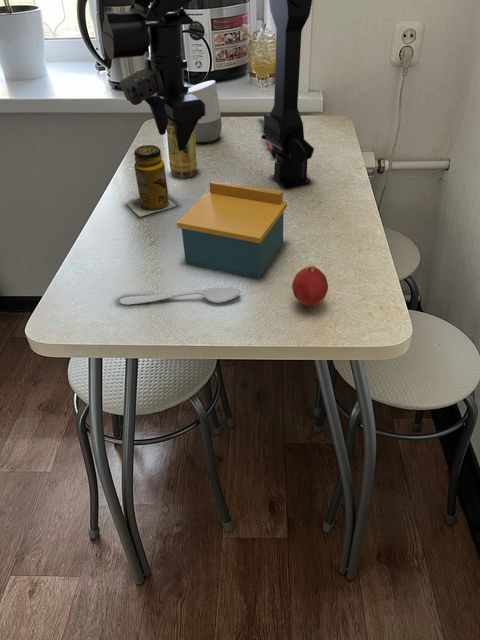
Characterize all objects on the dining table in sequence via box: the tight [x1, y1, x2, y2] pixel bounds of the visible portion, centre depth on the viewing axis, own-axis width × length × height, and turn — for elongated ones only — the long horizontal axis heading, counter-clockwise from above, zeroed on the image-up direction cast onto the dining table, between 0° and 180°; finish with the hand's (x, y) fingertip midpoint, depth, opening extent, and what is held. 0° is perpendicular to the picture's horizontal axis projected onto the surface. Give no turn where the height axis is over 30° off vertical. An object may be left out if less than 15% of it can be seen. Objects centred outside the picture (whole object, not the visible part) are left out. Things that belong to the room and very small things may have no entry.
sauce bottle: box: [166, 81, 198, 179], centre depth 128 cm, size 7×6×20 cm
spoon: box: [118, 286, 242, 306], centre depth 98 cm, size 4×21×2 cm, turn 92°
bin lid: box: [176, 179, 288, 243], centre depth 103 cm, size 14×16×3 cm
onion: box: [291, 264, 329, 307], centre depth 94 cm, size 6×6×8 cm
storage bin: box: [180, 211, 285, 280], centre depth 106 cm, size 13×15×8 cm
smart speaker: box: [187, 79, 223, 144], centre depth 146 cm, size 10×9×14 cm
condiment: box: [125, 144, 177, 218], centre depth 120 cm, size 7×8×12 cm
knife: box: [260, 119, 279, 158], centre depth 149 cm, size 26×3×5 cm
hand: (171, 142), depth 111 cm, fingers open, 9 cm apart
